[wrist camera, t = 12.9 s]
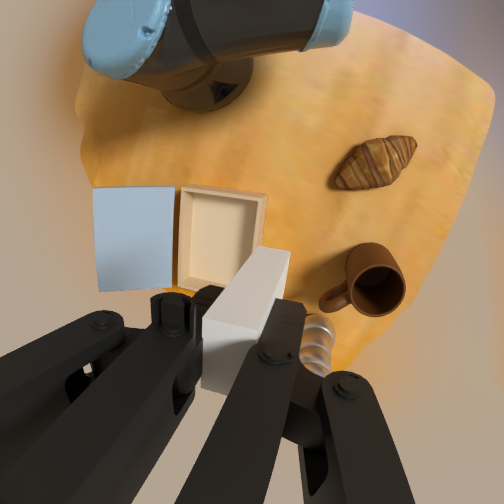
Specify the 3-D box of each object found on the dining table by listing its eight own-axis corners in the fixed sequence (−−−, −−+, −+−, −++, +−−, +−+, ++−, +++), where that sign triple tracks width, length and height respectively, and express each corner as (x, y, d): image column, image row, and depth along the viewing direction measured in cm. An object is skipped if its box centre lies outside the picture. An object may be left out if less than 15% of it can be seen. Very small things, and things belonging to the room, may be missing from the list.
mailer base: (192, 184, 46) (181, 187, 42) (268, 194, 43) (262, 198, 40) (188, 277, 51) (177, 286, 47) (255, 292, 49) (249, 303, 45)
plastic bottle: (301, 345, 50) (283, 434, 32) (293, 312, 48) (269, 398, 30) (338, 340, 48) (335, 431, 30) (332, 305, 46) (328, 393, 28)
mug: (329, 305, 46) (328, 337, 38) (310, 263, 45) (306, 290, 36) (399, 276, 42) (413, 305, 34) (383, 232, 41) (396, 252, 32)
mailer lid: (175, 187, 42) (173, 186, 42) (92, 188, 37) (93, 187, 37) (171, 287, 47) (170, 284, 48) (99, 291, 42) (99, 289, 43)
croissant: (347, 205, 41) (350, 211, 37) (324, 164, 40) (323, 164, 36) (424, 162, 36) (435, 164, 32) (402, 121, 35) (411, 117, 31)
